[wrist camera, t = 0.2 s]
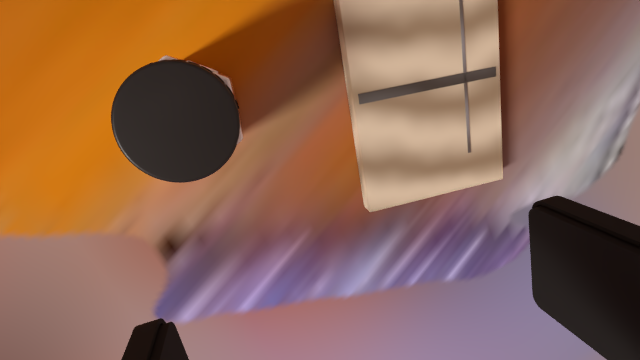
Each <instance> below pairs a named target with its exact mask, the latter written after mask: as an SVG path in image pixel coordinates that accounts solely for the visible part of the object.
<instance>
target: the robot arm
mask: <svg viewBox="0 0 640 360" xmlns="http://www.w3.org/2000/svg"><path fill="white" fill-rule="evenodd" d="M529 233H530V252H531V270H532V290H533V297H534V300H535V302H536V303H537V305H538V306H539V307H540V308H541V309H542V310H543V311H545V312H546V313H547V314H548V315H550V316H551V317H552V318H554V319H555V320H556V321H558V322H559V323H560V324H562V325H563V326H564V327H565V328H567V329H568V330H569V331H571V332H572V333H573V334H574V335H576V336H577V337H578V338H580V339H581V340H582V341H584V342H585V343H586V344H587V345H589V346H590V347H591V348H593V349H594V350H595V351H597V352H598V353H599V354H601V355H602V356H603V357H604V358H606V359H607V360H640V226H638V225H635V224H633V223H630V222H627V221H625V220H622V219H619V218H617V217H614V216H611V215H609V214H606V213H603V212H600V211H598V210H595V209H593V208H590V207H587V206H585V205H582V204H580V203H577V202H574V201H572V200H569V199H566V198H564V197H561V196H553V197H550V198H547V199H543V200H540V201H537V202H535V203H534V204H533V206H532V209H531V210H530V211H529ZM122 360H189V359H188V356H187V354H186V351H185V349H184V346H183V344H182V341H181V339H180V337H179V334H178V331H177V329H176V327H175V325H174V323H173V322H169V323H166V322H165V321H164V320H163V319H161V318H160V319H157V320H154V321H151V322H148V323H144V324H142V325H138V326H136V327H135V328H134V330H133V332H132V335H131V338H130V340H129V342H128V345H127V347H126V350H125V352H124V355H123V357H122Z"/></svg>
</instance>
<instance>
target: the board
mask: <svg viewBox="0 0 640 360" xmlns="http://www.w3.org/2000/svg"><path fill="white" fill-rule="evenodd" d="M333 1H334V7H335V14H336V21H337V27H338V34H339V41H340V48H341V54H342V61H343V68H344V74H345V81H346V88H347V94H348V101H349V108H350V114H351V121H352V128H353V134H354V141H355V148H356V154H357V161H358V168H359V174H360V181H361V188H362V195H363V201H364V206H365V207H366V208H367V210H368V211H369V212H373V211H377V210H381V209H385V208H389V207H393V206H397V205H401V204H405V203H409V202H413V201H417V200H421V199H425V198H429V197H433V196H437V195H441V194H445V193H449V192H453V191H457V190H461V189H464V188H468V187H472V186H476V185H480V184H484V183H488V182H492V181H496V180H500V179H503V163H502V130H501V96H500V63H499V30H498V0H333Z"/></svg>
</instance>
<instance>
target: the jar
mask: <svg viewBox="0 0 640 360" xmlns="http://www.w3.org/2000/svg"><path fill="white" fill-rule="evenodd" d="M238 109H239V106H238V103H237V101H236V97H235V93H234V89H233V84H232V80H231V77H229V76H227V75H224V74H221V73H219V72H218V71H217V70H214V69H212V68H209V67H206V66H203V65H201V64H198V63H195V62H192V61H189V60H187V61H186V60H182V59H178V58H174V57H171V56H163V57H162V58H161V59H160V60H159V61H158V62H154V63H150V64H148V65H145V66H143V67H141V68H139V69H138V70H136V71H135V72H133V73H132V74H131V75H130V76H129V77H128V78H127V79H126V80H125V81H124V82H123V83H122V85H121V86H120V88H119V89H118V91H117V93H116V96H115V98H114V101H113V105H112V111H111V123H112V130H113V134H114V137H115V140H116V142H117V144H118V146H119V148H120V149H121V151H122V152H123V154H124V155H125V157H126V158H127V159H128V160H129V161H130V162H131V163H132V164H133V165H134V166H136V167H137V168H138V169H139V170H141V171H143V172H144V173H146V174H148V175H150V176H152V177H154V178H157V179H160V180H164V181H169V182H191V181H196V180H199V179H202V178H205V177H207V176H209V175H211V174H213V173H214V172H216V171H217V170H219V169H220V168H221V167H222V166H223V165H224V164H225V163H226V162H227V161H228V160H229V158H230V157H231V155H232V154H233V152H234V150H235V148H236V145H237V144H238V143H239V142H240V141H242V139H243V133H242V124H241V119H240V115H239V110H238Z"/></svg>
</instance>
